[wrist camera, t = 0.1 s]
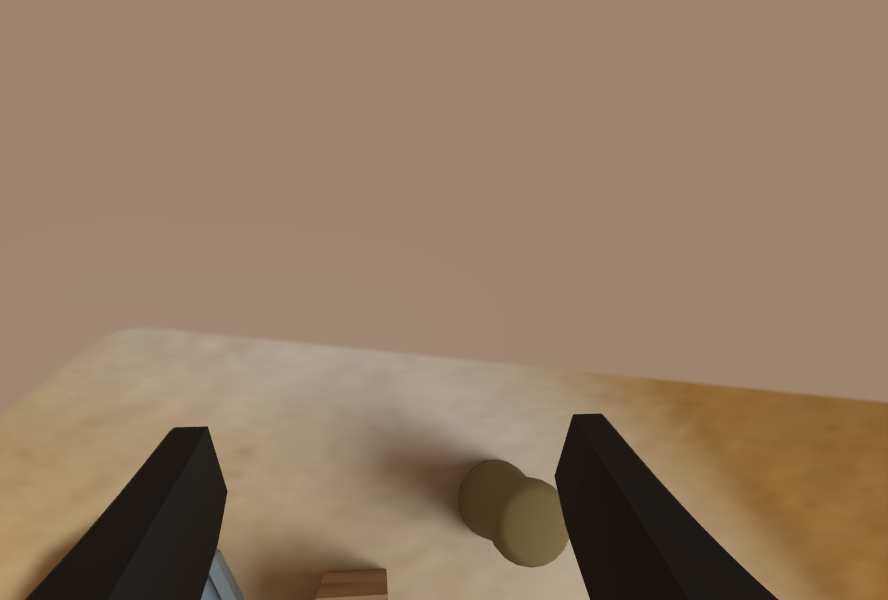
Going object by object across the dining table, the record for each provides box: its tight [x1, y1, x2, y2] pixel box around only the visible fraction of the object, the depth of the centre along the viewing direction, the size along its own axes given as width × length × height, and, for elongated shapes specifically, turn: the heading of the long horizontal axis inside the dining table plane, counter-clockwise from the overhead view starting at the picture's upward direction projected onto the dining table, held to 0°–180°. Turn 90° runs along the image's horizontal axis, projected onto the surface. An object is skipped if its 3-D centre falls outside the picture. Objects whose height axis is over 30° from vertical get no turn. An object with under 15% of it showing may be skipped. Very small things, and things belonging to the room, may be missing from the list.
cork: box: [459, 460, 569, 567], centre depth 36 cm, size 6×6×11 cm
